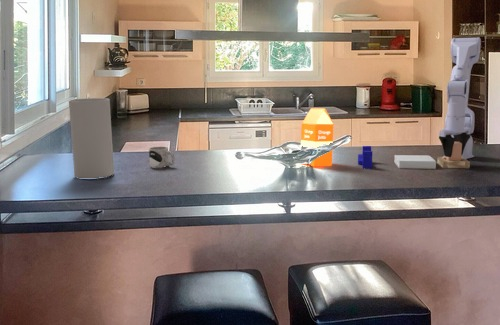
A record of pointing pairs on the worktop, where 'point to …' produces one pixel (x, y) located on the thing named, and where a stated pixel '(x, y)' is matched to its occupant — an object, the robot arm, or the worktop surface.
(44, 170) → the worktop surface
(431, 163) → the platform
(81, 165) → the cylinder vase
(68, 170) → the worktop surface
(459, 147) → the block
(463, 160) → the socket
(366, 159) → the cable clip
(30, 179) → the worktop surface
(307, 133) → the orange juice
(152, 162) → the mug
